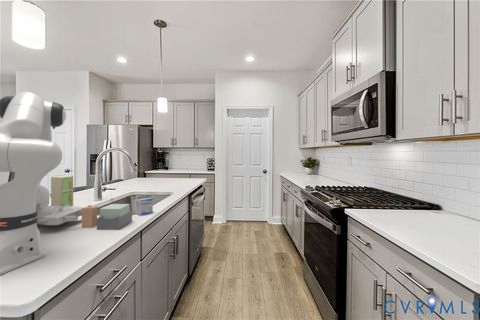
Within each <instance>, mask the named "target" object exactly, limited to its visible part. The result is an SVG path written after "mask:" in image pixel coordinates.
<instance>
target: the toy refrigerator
mask: <svg viewBox="0 0 480 320" xmlns="http://www.w3.org/2000/svg"><path fill="white" fill-rule="evenodd" d="M61 205H68V206H74V176H73V175H55V176H51V177H50V206H61Z"/></svg>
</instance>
